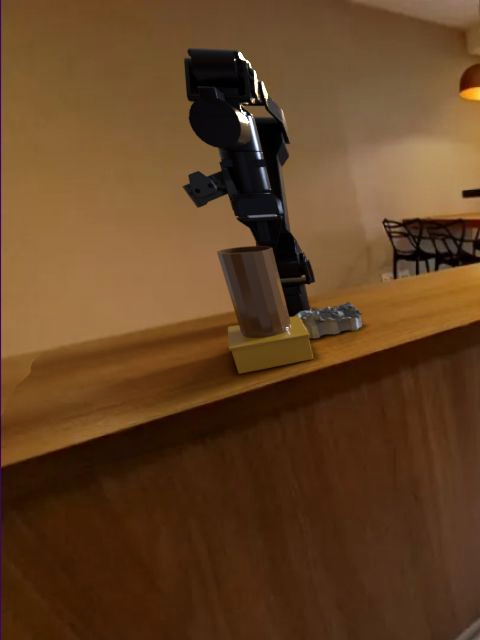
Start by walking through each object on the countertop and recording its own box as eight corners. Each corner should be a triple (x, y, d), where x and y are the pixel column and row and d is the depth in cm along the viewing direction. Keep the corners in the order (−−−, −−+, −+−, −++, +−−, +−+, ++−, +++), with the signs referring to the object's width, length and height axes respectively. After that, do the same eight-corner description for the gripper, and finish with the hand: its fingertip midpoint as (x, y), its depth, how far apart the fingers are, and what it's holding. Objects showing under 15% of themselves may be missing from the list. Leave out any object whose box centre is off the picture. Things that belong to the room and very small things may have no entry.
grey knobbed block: (303, 341, 74) (298, 318, 72) (295, 330, 80) (289, 308, 78) (366, 329, 79) (362, 307, 78) (354, 319, 85) (350, 298, 83)
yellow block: (235, 350, 71) (227, 326, 69) (304, 338, 76) (298, 315, 74) (237, 374, 62) (228, 348, 60) (315, 359, 67) (309, 334, 65)
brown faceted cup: (240, 328, 68) (216, 248, 63) (288, 320, 71) (269, 244, 66) (243, 341, 63) (217, 255, 58) (294, 332, 66) (274, 250, 61)
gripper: (180, 154, 69) (211, 256, 76) (170, 148, 55) (209, 274, 61) (259, 154, 74) (282, 250, 81) (269, 149, 60) (295, 265, 66)
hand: (268, 258), depth 72 cm, fingers open, 9 cm apart
